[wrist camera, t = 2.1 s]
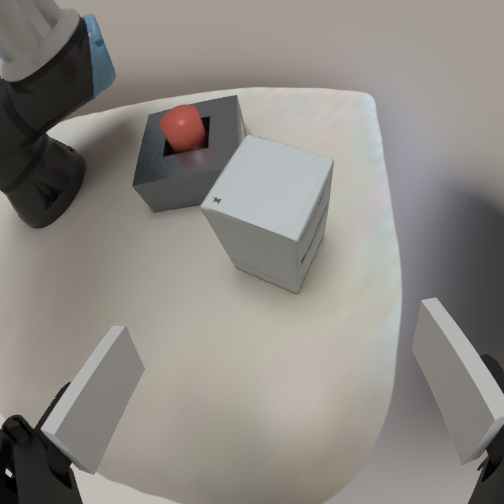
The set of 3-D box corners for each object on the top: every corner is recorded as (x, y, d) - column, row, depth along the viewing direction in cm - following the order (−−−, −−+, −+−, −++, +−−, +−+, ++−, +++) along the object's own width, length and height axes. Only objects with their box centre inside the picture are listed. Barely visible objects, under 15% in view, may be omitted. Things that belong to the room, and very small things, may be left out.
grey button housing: (154, 212, 36) (132, 186, 30) (164, 142, 41) (148, 114, 35) (250, 197, 34) (241, 165, 29) (246, 127, 39) (238, 94, 34)
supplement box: (298, 296, 29) (296, 245, 18) (233, 267, 31) (194, 205, 20) (326, 234, 31) (337, 157, 20) (264, 210, 34) (245, 131, 22)
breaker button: (173, 163, 33) (156, 135, 29) (176, 137, 35) (162, 109, 30) (208, 156, 33) (196, 126, 28) (210, 130, 34) (198, 101, 30)
